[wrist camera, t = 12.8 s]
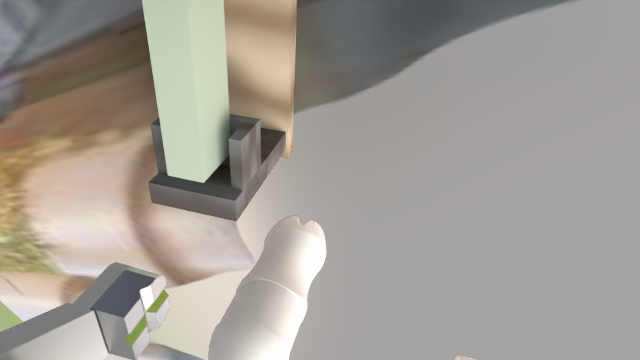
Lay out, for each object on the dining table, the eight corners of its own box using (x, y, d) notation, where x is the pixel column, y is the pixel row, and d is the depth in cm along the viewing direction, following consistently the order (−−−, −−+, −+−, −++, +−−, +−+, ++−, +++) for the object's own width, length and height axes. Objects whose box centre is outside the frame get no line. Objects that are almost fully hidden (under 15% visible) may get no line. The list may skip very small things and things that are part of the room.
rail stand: (200, -209, 32) (61, -271, 21) (303, -205, 31) (216, -270, 19) (222, 138, 48) (151, 211, 37) (291, 151, 47) (239, 231, 35)
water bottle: (289, 260, 55) (194, 468, 35) (264, 215, 53) (144, 413, 32) (340, 251, 52) (269, 473, 32) (316, 203, 50) (220, 412, 29)
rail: (171, -142, 27) (119, -151, 23) (216, -139, 26) (172, -148, 22) (198, 146, 38) (167, 175, 33) (231, 152, 37) (203, 182, 33)
